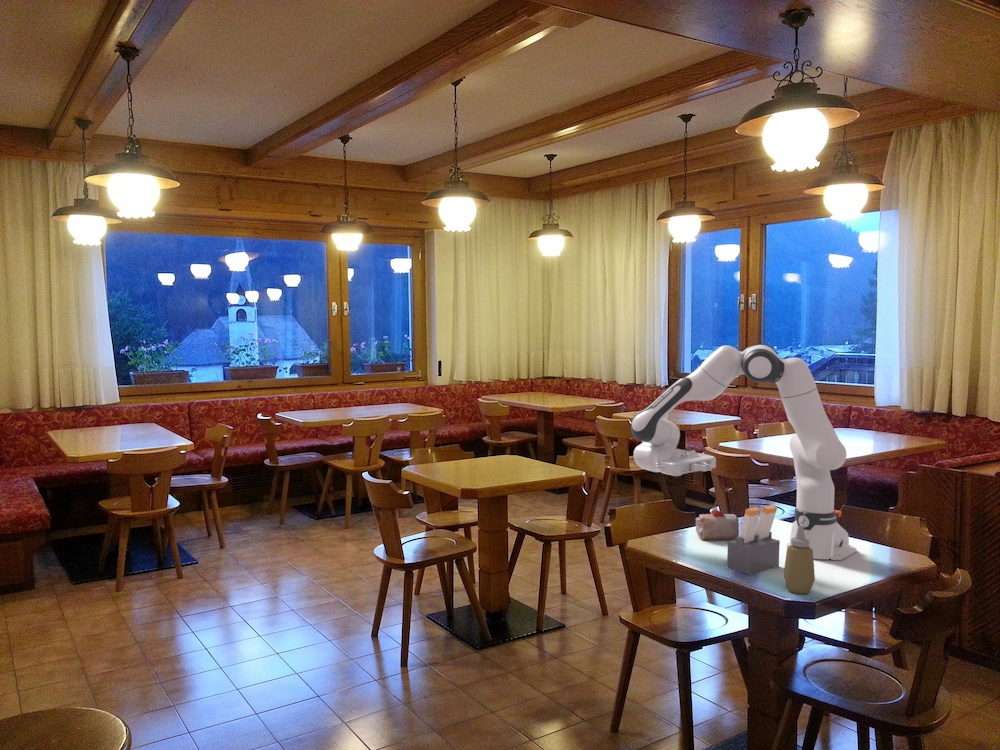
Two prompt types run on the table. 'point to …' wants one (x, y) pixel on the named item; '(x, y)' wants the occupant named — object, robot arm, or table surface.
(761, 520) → the orange-tipped white bar
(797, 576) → the squeeze bottle
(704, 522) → the food item
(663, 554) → the table surface
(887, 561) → the table surface
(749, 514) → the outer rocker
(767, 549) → the grey holder block
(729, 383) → the robot arm
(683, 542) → the table surface
